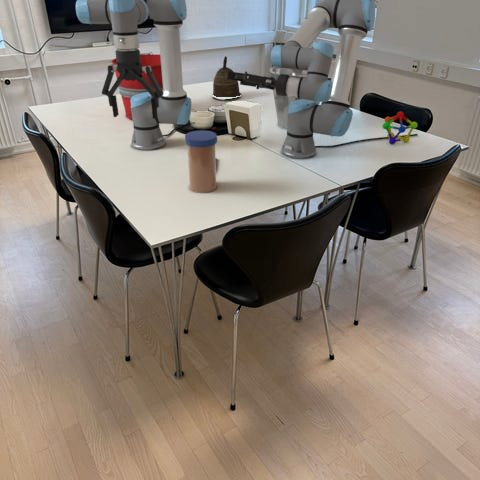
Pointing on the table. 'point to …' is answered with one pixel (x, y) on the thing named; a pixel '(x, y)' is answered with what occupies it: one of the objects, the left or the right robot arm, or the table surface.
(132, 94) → the bucket
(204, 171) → the jar
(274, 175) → the table surface
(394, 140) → the educational toy
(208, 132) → the lid
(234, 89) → the bell
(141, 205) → the table surface
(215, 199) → the table surface
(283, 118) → the bucket
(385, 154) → the table surface
